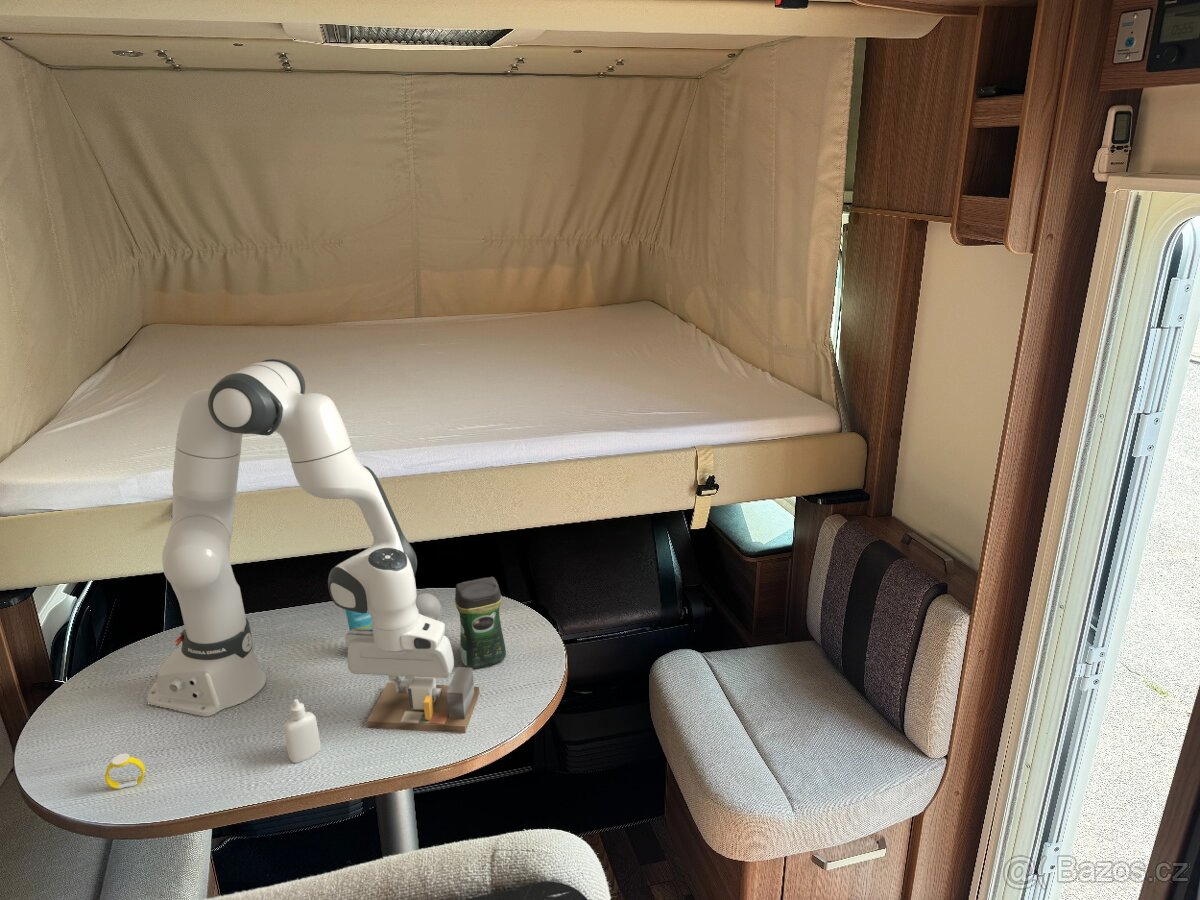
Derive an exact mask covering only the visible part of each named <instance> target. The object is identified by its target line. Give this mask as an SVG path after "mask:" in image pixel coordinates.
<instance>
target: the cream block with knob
mask: <svg viewBox="0 0 1200 900" xmlns="http://www.w3.org/2000/svg"><path fill="white" fill-rule="evenodd" d="M436 685H437V680H436V678H434V677H414V678H413V680H412V682H411V684H410V685H409V687H408V695H409V703H410V709H419V710H424V703H423V702H424V700H425V698H426V696H432V704H434V702H435V700H436V697H441V694H442V689H441V688H436ZM422 720H425V712H424V713H423V716H422Z"/></svg>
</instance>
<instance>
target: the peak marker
mask: <svg viewBox="0 0 1200 900" xmlns="http://www.w3.org/2000/svg"><path fill="white" fill-rule="evenodd" d="M423 703H424V712H425V720H431V718H432V715H433V704H432V696H426V698H425V700H424V702H423Z"/></svg>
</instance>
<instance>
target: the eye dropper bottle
mask: <svg viewBox="0 0 1200 900" xmlns="http://www.w3.org/2000/svg"><path fill="white" fill-rule="evenodd" d="M289 712H290V718H288V719H287V721H286V722H285V723H284V725H283V734H284V740H285V744H286V751H287V755H288V759H289V760H290V761H291V762H292V763H293V764H296V763H297V764H298V763H301V762H305V761H307V760H309V759H311V758H313V757H314V756H315V755H317V754H318V753H319V752H320V751H321V749H322V745H321V739H320V733H319V729H318V722H317V717H316V715H315V714H314V713H313V712H312V711H306V708H305V704H304V703H302V702H299V700H298V698H295V699H293V703H292V704H291V705H290V708H289Z"/></svg>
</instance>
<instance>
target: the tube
mask: <svg viewBox="0 0 1200 900" xmlns="http://www.w3.org/2000/svg"><path fill="white" fill-rule="evenodd" d="M345 615H346V618H347V619H346V620H347V623H348V624H347V625H348V631H351V630H352V629H372V624H371V615H370V614H369V613H364V614H362V613H356V612H352V611H348V610H345Z"/></svg>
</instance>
